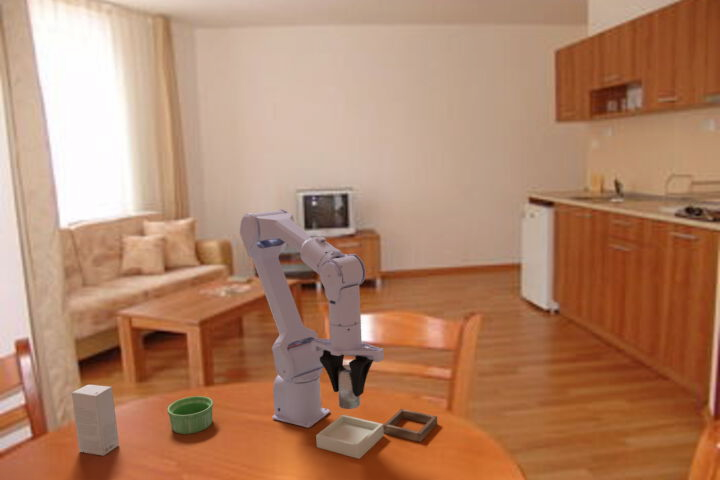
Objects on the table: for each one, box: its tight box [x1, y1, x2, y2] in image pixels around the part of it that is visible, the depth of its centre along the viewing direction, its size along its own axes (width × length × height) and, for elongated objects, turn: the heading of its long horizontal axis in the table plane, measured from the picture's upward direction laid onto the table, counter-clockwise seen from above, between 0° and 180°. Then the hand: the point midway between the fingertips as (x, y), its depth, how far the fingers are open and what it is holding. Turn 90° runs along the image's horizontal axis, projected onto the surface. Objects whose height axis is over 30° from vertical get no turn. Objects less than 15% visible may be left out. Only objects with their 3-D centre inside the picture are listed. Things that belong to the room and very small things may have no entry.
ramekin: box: [167, 395, 214, 435], centre depth 116 cm, size 9×9×4 cm
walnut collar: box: [383, 408, 438, 443], centre depth 111 cm, size 8×8×2 cm
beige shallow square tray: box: [315, 414, 385, 460], centre depth 106 cm, size 9×9×2 cm
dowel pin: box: [337, 364, 361, 410], centre depth 105 cm, size 4×4×7 cm
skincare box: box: [71, 384, 120, 456], centre depth 107 cm, size 6×4×12 cm
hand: (348, 392), depth 105 cm, fingers closed on dowel pin, 4 cm apart
